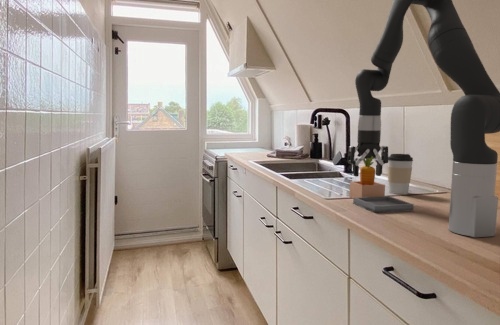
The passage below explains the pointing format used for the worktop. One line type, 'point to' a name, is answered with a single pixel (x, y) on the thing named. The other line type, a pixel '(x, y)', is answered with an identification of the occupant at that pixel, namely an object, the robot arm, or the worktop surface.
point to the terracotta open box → (366, 190)
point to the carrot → (367, 172)
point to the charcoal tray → (382, 204)
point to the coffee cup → (399, 173)
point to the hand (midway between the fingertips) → (367, 175)
